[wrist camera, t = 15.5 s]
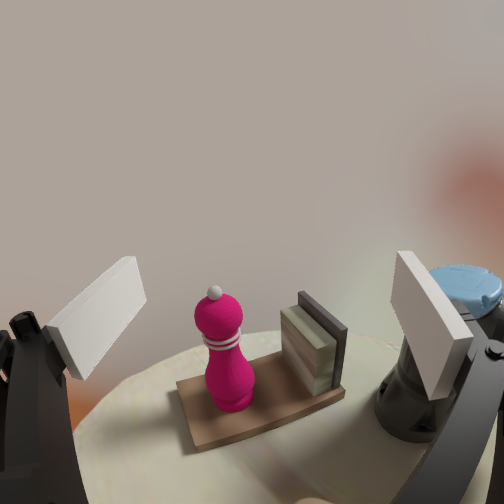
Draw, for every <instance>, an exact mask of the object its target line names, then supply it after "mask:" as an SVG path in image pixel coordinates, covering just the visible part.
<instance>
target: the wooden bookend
mask: <svg viewBox="0 0 504 504" xmlns="http://www.w3.org/2000/svg"><path fill="white" fill-rule="evenodd" d="M280 312H281V313H280V314H281V340H282V351H279V352H276V353H273V354H270V355H267V356H264V357H261V358H258V359H255V360H252V361H248V362H249V364H250V365H251V367H252V370H253V372H254V377H255V382H254V386H253V401H252V403H251V404H250V405H249V406H248V407H247V408H245V409H244V410H241V411H238V412H226V411H223V410H221V409H219V408H218V407H217V406H216V405H215V404H214V401H213V397H212V394H211V393H210V392H209V391H208V389H207V387H206V383H205V374H204V375H201V376H197V377H193V378H189V379H186V380H182V381H178V382H176V385H177V388H178V392H179V395H180V399H181V402H182V406H183V409H184V412H185V416H186V419H187V422H188V425H189V429H190V432H191V435H192V438H193V441H194V444H195V447H196V449H197V451H198V453H199V452H203V451H207V450H210V449H214V448H217V447H221V446H224V445H227V444H231V443H234V442H237V441H240V440H243V439H246V438H249V437H252V436H255V435H258V434H261V433H263V432H266V431H269V430H272V429H274V428H277V427H279V426H282V425H284V424H287V423H289V422H292V421H294V420H297V419H299V418H302V417H304V416H306V415H308V414H311V413H313V412H315V411H317V410H320V409H322V408H324V407H326V406H328V405H330V404H332V403H335V402H337V401H339V400H341V399H343V398H344V396H345V389H344V388H343V387H342V386H341V385H340V381H341V375H342V368H343V361H344V354H345V347H346V339H347V330H348V328H347V327H346V326H344V325H343V324H342V323H341V322H339V320H337V319H336V318H335V317H334V316H333V315H331V314H330V313H329V312H328V311H327V310H326V309H324V308H323V307H322V306H321V305H320V304H319V303H317V302H316V301H315V300H314V299H313V298H311V297H310V296H309V295H308V294H307V293H306V292H304V291H300V292H298V305H295V306H292V307H289V308H286V309H282V310H281V311H280Z"/></svg>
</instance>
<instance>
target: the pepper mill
mask: <svg viewBox="0 0 504 504" xmlns="http://www.w3.org/2000/svg"><path fill="white" fill-rule="evenodd" d="M207 294H208V296H206V297H205V298H203V299H202V300H201V301H200V302H199V303H198V304H197V306H196V309H195V314H194V317H195V323H196V326H197V327H198V329H199V330H200V331H201V332H202V337H203V342H204V344H205V345H206V346H207V347H208V348H209V362H208V365H207V368H206V372H205V383H206V387H207V389H208V391H209V392H210V393H211V394H212V397H213V401H214V404H215V405H216V406H217V407H218V408H219V409H221V410H223V411H226V412H238V411H241V410H244V409H245V408H247V407H248V406H249V405H250V404H251V403H252V401H253V386H254V382H255V377H254V372H253V370H252V367H251V365H250V364H249V362H248V361H247V360H246V359H245V357H244V356H243V355H242V353H241V351H240V347H239V342H240V340H241V333H240V332H241V330H240V325H241V323H242V319H243V314H242V309H241V306H240V305H239V303H238V302H237V301H236V299H234V298H233V297H231V296H229V295H226V294H222V290H221V288H219V287H218V286H211V287H210V288H209V289H208V292H207Z"/></svg>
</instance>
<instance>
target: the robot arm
mask: <svg viewBox="0 0 504 504" xmlns="http://www.w3.org/2000/svg"><path fill="white" fill-rule="evenodd" d="M146 301H147V300H146V296H145V293H144V289H143V285H142V281H141V277H140V274H139V269H138V266H137V261H136V257H135V256H124V257H122V258H121V259H120V260H119V261H118V262H116V263H115V264H114V265H113V266H111V268H109V269H108V270H107V271H106V272H104V273H103V274H102V275H101V276H100V277H98V278H97V279H96V280H95V281H94V282H93V283H92V284H90V285H89V286H88V287H87V288H86V289H85V290H84V291H82V292H81V293H80V294H79V295H78V296H77V297H76V298H75V299H73V300H72V301H71V302H70V303H69V304H68V305H67V306H66V307H65V308H64V309H63V310H61V311H60V312H59V313H58V314H57V315H56V316H55V317H54V318H53V319H52V320H51V321H49V322H48V323H47V324H46V325H45V326H44V327H43V328H42V329H40V327H39V324H38V322H37V320H36V318H35V316H34V313H33V312H32V311H26V312H22V313H19V314H18V315H16V316H14V317H13V318H12V319H11V320H10V322H9V325H10V327H11V329H12V331H13V333H14V335H15V337H16V339H11V337H10V335H9V333H8V331H6V330H1V331H0V369H2V371H3V373H4V374H5V376H6V377H7V380H6V382H5V381H4V380H3V379H2V377H1V376H0V504H89V503H88V500H87V497H86V493H85V489H84V486H83V482H82V478H81V474H80V470H79V465H78V461H77V456H76V451H75V446H74V440H73V434H72V428H71V422H70V415H69V407H68V398H67V387H66V378H65V375H64V374H63V370H64V369H65V368H66V367H67V369H68V371H69V372H70V374H71V376H72V377H73V378H76V379H79V380H83V381H85V380H86V378H87V377H88V376H89V374H90V373H91V372H92V370H93V369H94V368H95V366H96V365H97V364H98V362H99V361H100V360H101V358H102V357H103V356H104V355H105V353H106V352H107V351H108V349H109V348H110V347H111V345H112V344H113V343H114V342H115V340H116V339H117V338H118V336H119V335H120V334H121V332H122V331H123V330H124V329H125V328H126V326H127V325H128V324H129V322H130V321H131V320H132V319H133V317H134V316H135V315H136V313H137V312H138V311H139V310H140V308H141V307H142V306H143V305H144V304H145V303H146ZM390 302H391V304H392V306H393V308H394V310H395V313H396V315H397V317H398V320H399V322H400V325H401V327H402V329H403V332H404V334H405V336H404V340H403V344H402V348H401V352H400V356H399V359H398V362H397V363H396V365H395V366H394V367H393V369H392V370H391V371H390V372H389V374H388V375H387V376H386V377H385V378H384V380H383V381H382V383H381V385H380V387H379V389H378V392H377V396H376V399H375V412H376V415H377V418H378V420H379V422H380V423H381V425H382V426H383V427H384V428H385V429H386V430H387V431H388V432H389V433H390V434H392V435H393V436H395V437H397V438H399V439H402V440H405V441H408V442H415V443H423V442H430V441H432V442H431V444H430V445H429V447H428V449H427V450H426V452H425V454H424V455H423V457H422V458H421V460H420V462H419V463H418V465H417V466H416V468H415V469H414V471H413V472H412V474H411V475H410V477H409V478H408V480H407V481H406V482H405V484H404V485H403V487H402V488H401V489H400V491H399V492H398V493H397V495H396V496H395V497H394V499H393V500H392V501H391V502H390V504H459V502H460V501H461V499H462V497H463V495H464V493H465V491H466V489H467V487H468V485H469V483H470V481H471V479H472V477H473V475H474V473H475V470H476V468H477V466H478V464H479V461H480V459H481V457H482V454H483V452H484V449H485V447H486V444H487V441H488V439H489V436H490V433H491V430H492V427H493V424H494V421H495V418H496V415H497V412H498V419H497V434H496V444H495V453H494V461H493V468H492V474H491V480H490V485H489V490H488V495H487V499H486V503H485V504H504V290H503V284H502V281H501V279H500V278H499V277H498V276H497V275H496V274H494V273H493V274H492V273H490V271H489V270H486V269H484V268H480V267H476V266H471V265H448V266H444V267H439V268H436V269H433V270H431V271H429V272H428V271H427V270H426V268H425V267H424V266H423V265H422V263H421V262H420V261H419V259H418V258H417V257H416V256H415V255H414V253H413V252H412V251H397V257H396V265H395V273H394V281H393V288H392V295H391V301H390Z"/></svg>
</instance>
